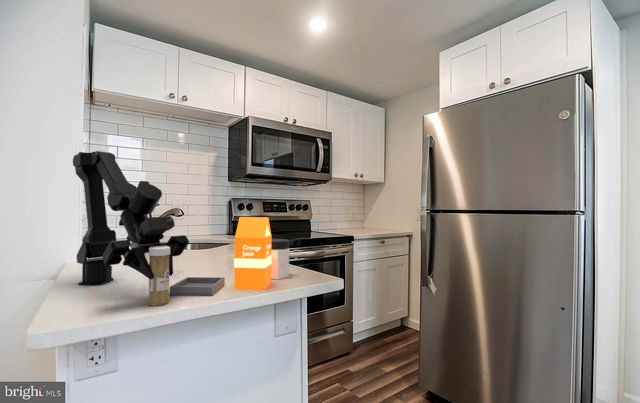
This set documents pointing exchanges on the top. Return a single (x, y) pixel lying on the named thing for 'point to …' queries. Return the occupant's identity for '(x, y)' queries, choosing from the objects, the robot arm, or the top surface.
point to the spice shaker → (159, 275)
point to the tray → (197, 286)
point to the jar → (279, 258)
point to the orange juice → (252, 253)
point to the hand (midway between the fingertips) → (162, 276)
